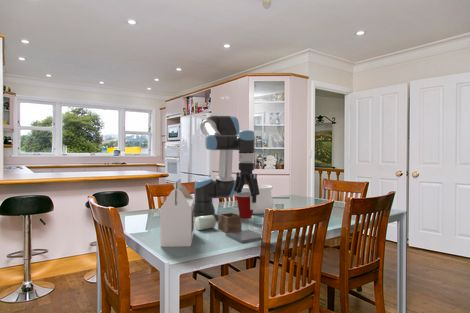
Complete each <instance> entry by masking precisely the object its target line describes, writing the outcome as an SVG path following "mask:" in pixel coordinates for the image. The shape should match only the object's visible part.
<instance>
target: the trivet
mask: <svg viewBox="0 0 470 313" xmlns="http://www.w3.org/2000/svg"><path fill="white" fill-rule="evenodd" d="M225 236H226V237H228V238H230V239H232V240H235V241H237V242H238V243H241V244H244V243H249V242H255V241H260V240H262V239H261V233H259V232H256V231H254V230H252V229H245V230H242V231H237V232H231V233H226V232H225Z"/></svg>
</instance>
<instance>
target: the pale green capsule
mask: <svg viewBox="0 0 470 313" xmlns="http://www.w3.org/2000/svg"><path fill="white" fill-rule="evenodd" d="M216 224H217V221H216V217H215V215H208V216H200V217H197V216H195V217H194V228H195V229H196V230H197V231H201V230H202V231H203V230H210V229H215V227H216Z"/></svg>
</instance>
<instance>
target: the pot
mask: <svg viewBox="0 0 470 313" xmlns="http://www.w3.org/2000/svg"><path fill="white" fill-rule="evenodd" d="M258 188H259V195H257V196H256V209H254V210H253V213H252V215H253V214H254V215H256V214H257V215H261V214H265V213H264V211H265V209H266V208H269V209H274V205H275V202H274V198H273V195H272V190H273V186H272V185H269V184H259V183H258ZM242 192H250V189H249V186H248V184H244V186H243V188H242Z"/></svg>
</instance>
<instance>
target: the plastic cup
mask: <svg viewBox="0 0 470 313" xmlns="http://www.w3.org/2000/svg"><path fill="white" fill-rule="evenodd" d="M250 195H251V192H240V193H236V192H235V194H234V196H235V199H236V204H237V203H238V206H237V208H238V215H239V216H240V218H242V220H243V219H244V220H248V219H252V216H253V214H252V213H253V210H250Z"/></svg>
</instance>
